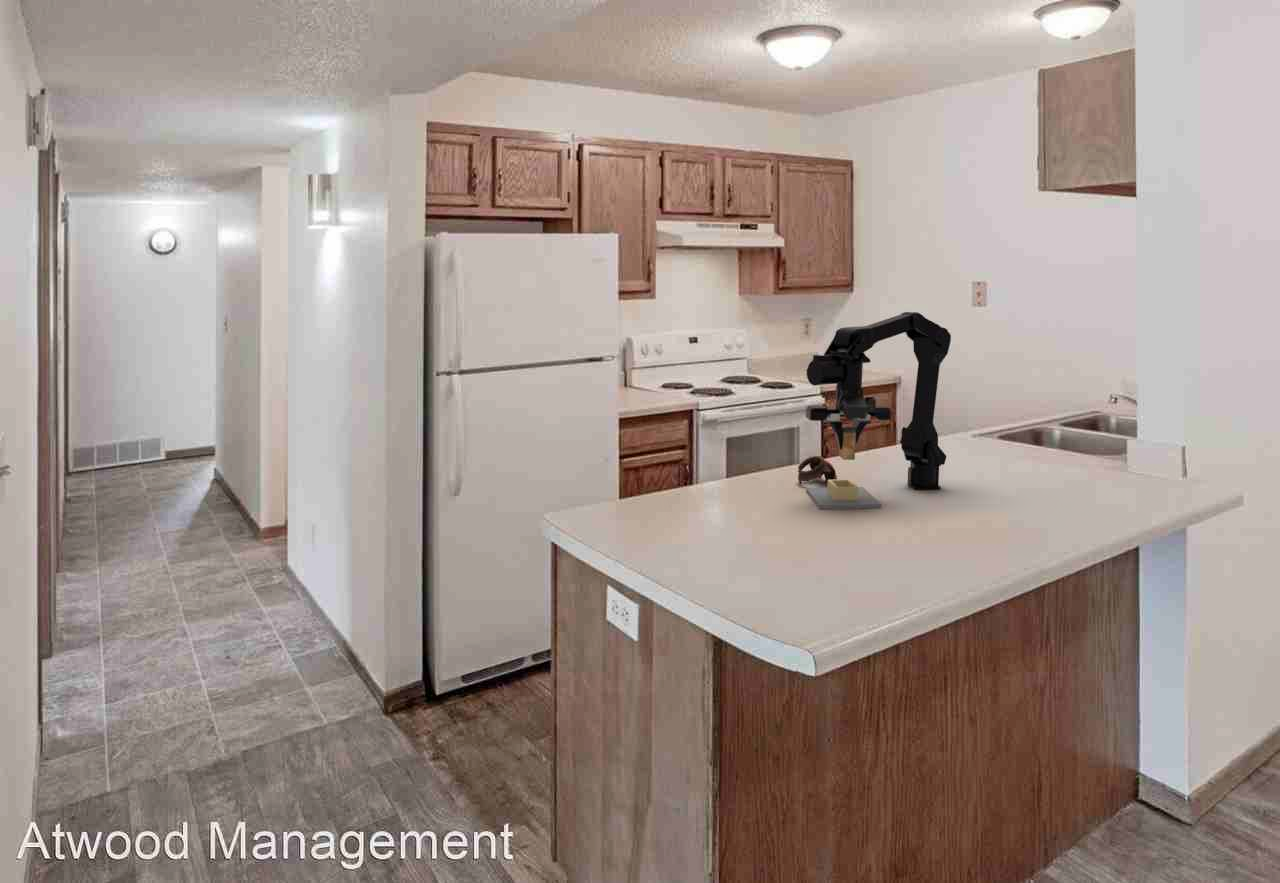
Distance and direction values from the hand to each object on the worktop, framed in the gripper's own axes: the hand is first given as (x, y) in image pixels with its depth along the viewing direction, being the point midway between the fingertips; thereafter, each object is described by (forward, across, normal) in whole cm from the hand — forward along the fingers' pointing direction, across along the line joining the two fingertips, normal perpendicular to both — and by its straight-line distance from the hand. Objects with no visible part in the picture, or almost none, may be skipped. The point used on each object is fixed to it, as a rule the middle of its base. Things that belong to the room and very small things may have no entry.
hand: (846, 449), depth 203 cm
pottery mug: (+13, -3, +18) cm, 22 cm away
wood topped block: (+2, 0, 0) cm, 2 cm away
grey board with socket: (+12, 0, 0) cm, 12 cm away
